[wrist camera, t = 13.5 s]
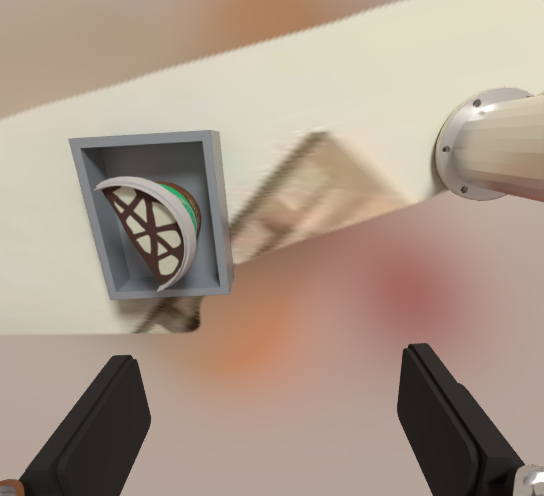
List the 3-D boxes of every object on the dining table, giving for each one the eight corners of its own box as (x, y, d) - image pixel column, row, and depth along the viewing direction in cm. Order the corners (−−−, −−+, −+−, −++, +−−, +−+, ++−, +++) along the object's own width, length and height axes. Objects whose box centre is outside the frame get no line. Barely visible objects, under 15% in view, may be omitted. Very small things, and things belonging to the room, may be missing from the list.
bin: (218, 131, 36) (210, 130, 32) (234, 277, 43) (229, 294, 38) (94, 139, 37) (68, 138, 32) (128, 282, 43) (109, 299, 38)
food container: (227, 243, 40) (213, 274, 30) (186, 260, 41) (159, 296, 31) (181, 152, 36) (148, 155, 27) (137, 173, 37) (90, 184, 28)
